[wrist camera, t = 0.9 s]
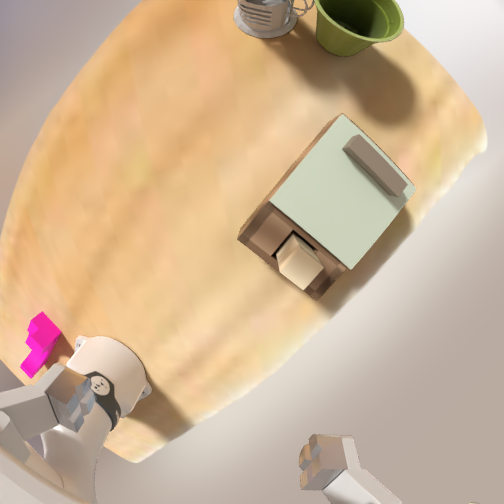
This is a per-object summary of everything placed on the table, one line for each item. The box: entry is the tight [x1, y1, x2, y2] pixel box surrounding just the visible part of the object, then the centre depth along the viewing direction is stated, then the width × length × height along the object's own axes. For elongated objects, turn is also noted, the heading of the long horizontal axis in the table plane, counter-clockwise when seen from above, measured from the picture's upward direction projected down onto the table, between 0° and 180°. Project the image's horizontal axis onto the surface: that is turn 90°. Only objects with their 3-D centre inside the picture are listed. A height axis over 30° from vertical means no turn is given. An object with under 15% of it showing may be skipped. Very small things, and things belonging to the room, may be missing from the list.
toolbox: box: [237, 113, 414, 301], centre depth 36 cm, size 20×13×7 cm, turn 142°
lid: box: [269, 114, 416, 270], centre depth 30 cm, size 13×13×4 cm
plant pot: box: [314, 0, 404, 57], centre depth 26 cm, size 12×12×11 cm
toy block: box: [20, 311, 61, 378], centre depth 45 cm, size 15×6×8 cm, turn 136°
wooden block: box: [275, 230, 324, 290], centre depth 34 cm, size 3×3×12 cm
